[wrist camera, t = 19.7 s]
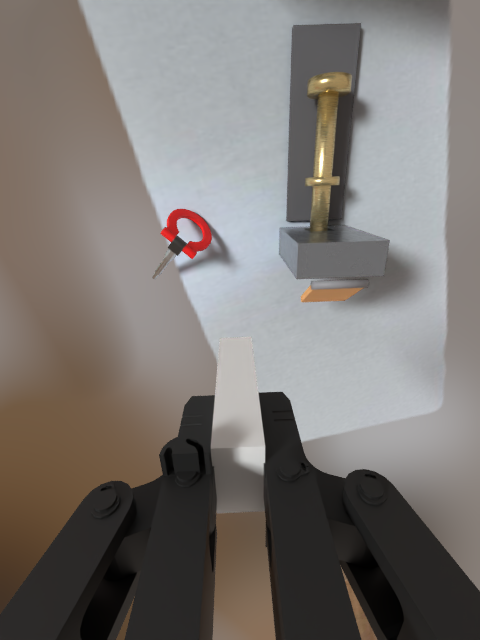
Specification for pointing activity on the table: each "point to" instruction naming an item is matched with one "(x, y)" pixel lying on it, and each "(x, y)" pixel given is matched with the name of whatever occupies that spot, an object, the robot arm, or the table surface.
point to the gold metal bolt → (325, 141)
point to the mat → (306, 62)
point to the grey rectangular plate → (332, 252)
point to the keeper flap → (333, 290)
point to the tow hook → (177, 242)
